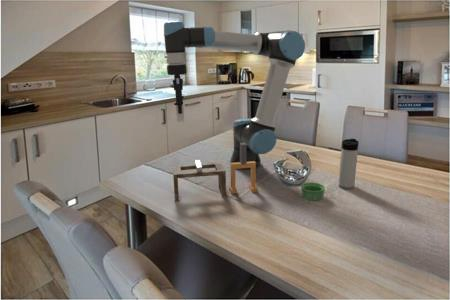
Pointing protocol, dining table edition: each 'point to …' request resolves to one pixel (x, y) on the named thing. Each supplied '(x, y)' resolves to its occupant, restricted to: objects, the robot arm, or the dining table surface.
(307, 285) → the dining table surface
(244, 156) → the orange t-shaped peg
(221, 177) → the brown frame with crossbar
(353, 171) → the travel mug
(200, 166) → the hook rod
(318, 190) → the ramekin
